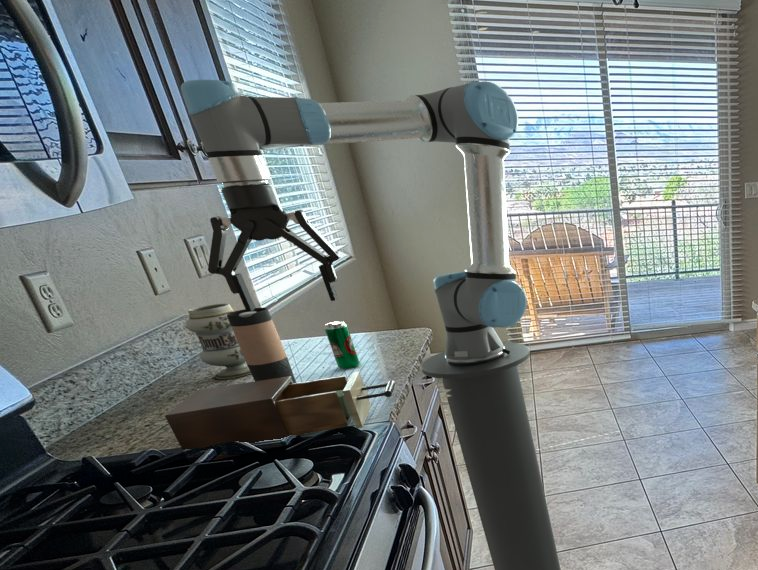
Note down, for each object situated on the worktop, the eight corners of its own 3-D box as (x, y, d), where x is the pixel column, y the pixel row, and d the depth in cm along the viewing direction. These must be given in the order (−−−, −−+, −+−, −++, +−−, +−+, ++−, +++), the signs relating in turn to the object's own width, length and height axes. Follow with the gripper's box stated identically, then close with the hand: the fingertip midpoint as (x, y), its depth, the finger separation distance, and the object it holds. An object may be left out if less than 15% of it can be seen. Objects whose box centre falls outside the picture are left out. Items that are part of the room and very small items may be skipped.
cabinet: (308, 419, 119) (290, 376, 115) (291, 445, 107) (271, 398, 103) (217, 435, 114) (195, 390, 110) (189, 464, 102) (164, 415, 98)
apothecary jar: (230, 367, 157) (202, 303, 149) (275, 364, 158) (249, 299, 150) (198, 382, 146) (165, 313, 138) (246, 378, 147) (217, 310, 139)
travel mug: (282, 388, 139) (249, 307, 130) (308, 388, 137) (276, 307, 128) (253, 399, 132) (216, 315, 123) (280, 401, 130) (244, 315, 122)
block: (352, 409, 117) (345, 389, 116) (349, 416, 114) (341, 396, 112) (327, 413, 116) (319, 393, 114) (323, 421, 112) (315, 400, 110)
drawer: (402, 399, 124) (392, 365, 121) (397, 420, 114) (385, 384, 110) (292, 418, 117) (278, 383, 114) (275, 442, 107) (259, 404, 103)
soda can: (335, 368, 151) (319, 324, 146) (355, 362, 155) (340, 319, 150) (344, 371, 149) (328, 326, 144) (363, 365, 152) (349, 321, 147)
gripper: (331, 178, 106) (369, 291, 115) (166, 189, 97) (221, 310, 107) (324, 179, 99) (364, 298, 109) (147, 190, 91) (207, 319, 100)
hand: (293, 304), depth 108 cm, fingers open, 13 cm apart
